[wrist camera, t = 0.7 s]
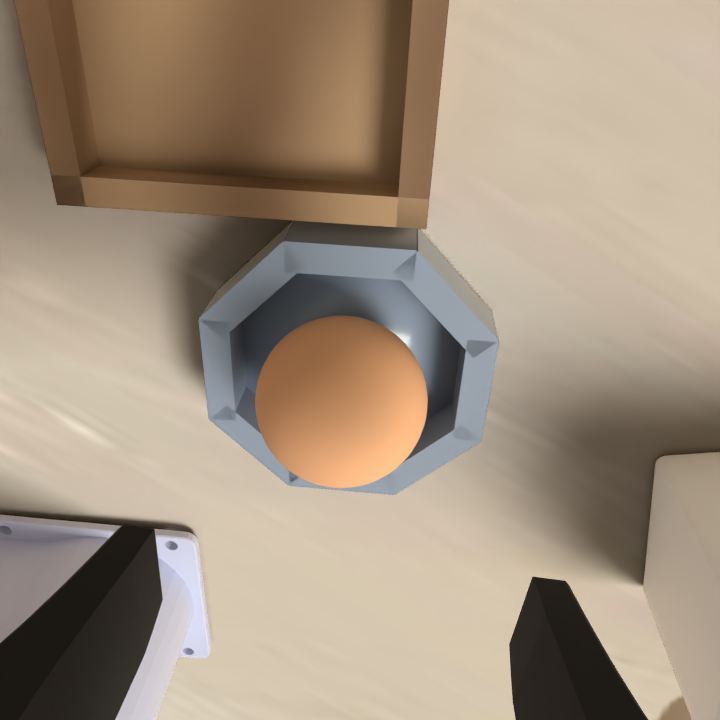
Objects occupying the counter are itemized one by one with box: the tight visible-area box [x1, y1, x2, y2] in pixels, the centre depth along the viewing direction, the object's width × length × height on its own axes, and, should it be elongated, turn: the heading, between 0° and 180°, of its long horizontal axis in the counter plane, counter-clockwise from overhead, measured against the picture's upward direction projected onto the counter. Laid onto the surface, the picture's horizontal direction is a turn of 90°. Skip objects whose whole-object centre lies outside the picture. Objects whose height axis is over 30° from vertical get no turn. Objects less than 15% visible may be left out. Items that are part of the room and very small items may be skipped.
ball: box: [255, 316, 428, 488], centre depth 18 cm, size 5×5×5 cm
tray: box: [14, 0, 449, 229], centre depth 15 cm, size 10×8×2 cm
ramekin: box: [199, 220, 499, 495], centre depth 20 cm, size 9×9×2 cm
